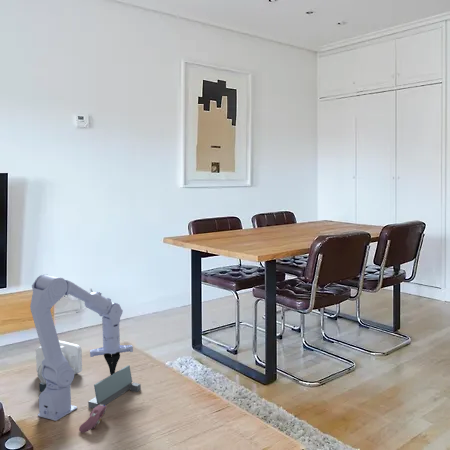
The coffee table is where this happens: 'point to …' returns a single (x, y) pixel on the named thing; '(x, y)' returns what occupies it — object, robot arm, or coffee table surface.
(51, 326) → the robot arm
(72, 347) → the cable organizer
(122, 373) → the panel
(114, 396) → the rail
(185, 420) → the coffee table surface
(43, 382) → the watch
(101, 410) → the video game controller
